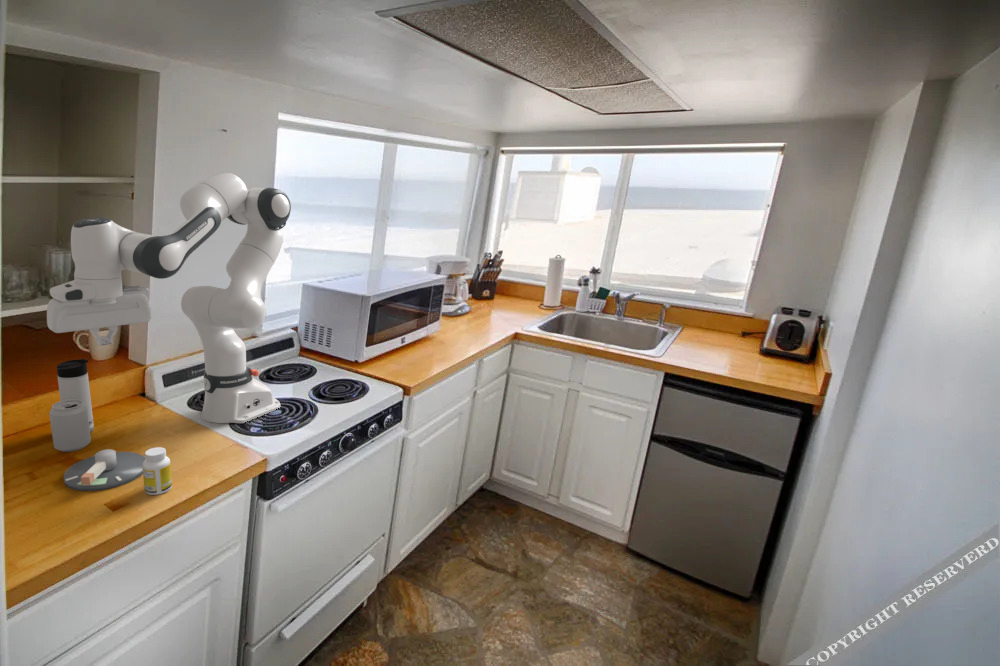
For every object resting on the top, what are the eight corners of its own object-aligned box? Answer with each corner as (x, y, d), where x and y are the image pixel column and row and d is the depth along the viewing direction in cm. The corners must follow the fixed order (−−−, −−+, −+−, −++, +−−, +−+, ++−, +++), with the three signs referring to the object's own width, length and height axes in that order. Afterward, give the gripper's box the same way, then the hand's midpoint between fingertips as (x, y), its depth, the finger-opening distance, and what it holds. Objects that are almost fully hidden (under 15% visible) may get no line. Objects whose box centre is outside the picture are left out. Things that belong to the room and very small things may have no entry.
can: (70, 455, 131) (65, 411, 128) (46, 449, 133) (40, 406, 130) (98, 442, 139) (94, 400, 135) (75, 437, 140) (70, 395, 137)
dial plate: (131, 449, 137) (130, 444, 137) (159, 472, 128) (158, 467, 128) (53, 472, 124) (53, 467, 124) (79, 499, 116) (78, 494, 115)
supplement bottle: (171, 480, 126) (169, 443, 123) (172, 492, 121) (169, 454, 119) (144, 485, 123) (141, 447, 120) (144, 497, 118) (140, 459, 116)
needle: (101, 462, 127) (100, 449, 126) (120, 462, 128) (118, 449, 127) (76, 487, 117) (74, 473, 116) (96, 487, 118) (94, 473, 117)
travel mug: (99, 430, 144) (92, 362, 139) (71, 438, 139) (62, 367, 134) (89, 423, 148) (81, 356, 142) (60, 431, 142) (51, 361, 137)
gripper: (143, 282, 134) (147, 334, 137) (40, 289, 117) (48, 348, 121) (154, 287, 130) (158, 340, 134) (50, 295, 114) (57, 355, 118)
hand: (105, 344), depth 127 cm, fingers closed
